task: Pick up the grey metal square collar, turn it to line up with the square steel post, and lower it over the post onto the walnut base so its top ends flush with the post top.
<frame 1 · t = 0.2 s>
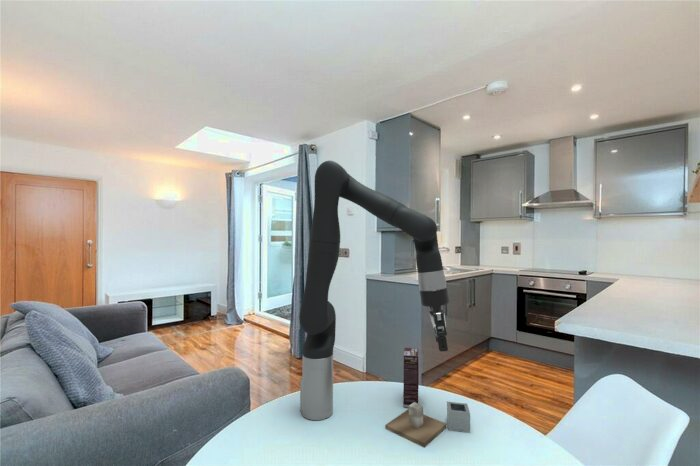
hand: (441, 346, 88), 22 cm above the table, tool pointing down, fingers open, 8 cm apart
post stand: (416, 428, 87), on the table
collar: (458, 425, 88), on the table
supplement box: (411, 402, 102), on the table
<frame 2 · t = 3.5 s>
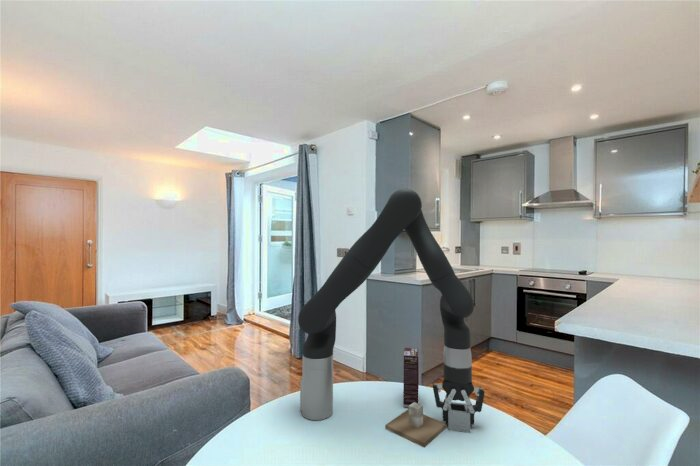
hand: (458, 423, 88), 1 cm above the table, tool pointing down, fingers closed on collar, 5 cm apart
collar: (458, 425, 88), on the table, touching gripper
everything else where it was.
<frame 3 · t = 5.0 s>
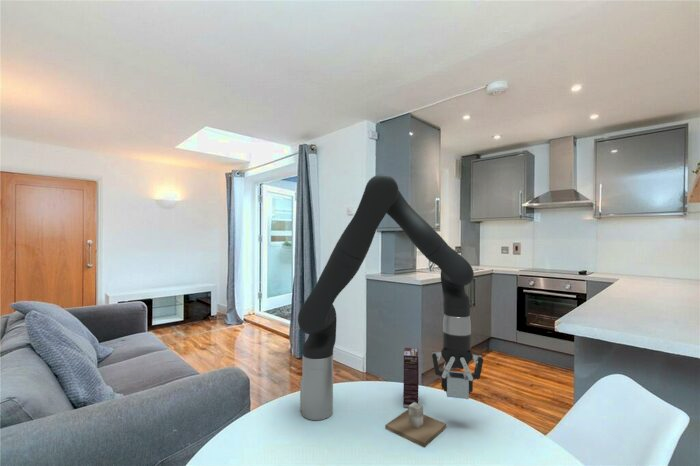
hand: (456, 391, 89), 9 cm above the table, tool pointing down, fingers closed on collar, 5 cm apart
collar: (456, 393, 89), point 9 cm above the table, touching gripper
everything else where it was.
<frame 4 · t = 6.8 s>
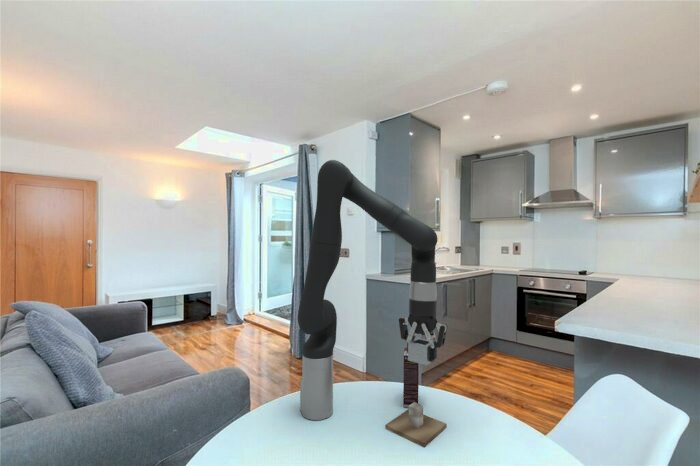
hand: (421, 358, 89), 19 cm above the table, tool pointing down, fingers closed on collar, 5 cm apart
collar: (421, 360, 89), point 18 cm above the table, touching gripper
everything else where it was.
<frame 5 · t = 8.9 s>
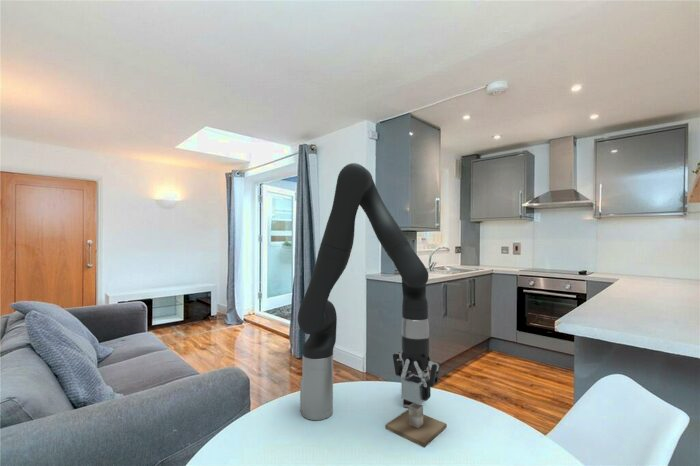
hand: (415, 395, 87), 9 cm above the table, tool pointing down, fingers closed on collar, 5 cm apart
collar: (415, 397, 87), point 8 cm above the table, touching gripper
everything else where it was.
when the fingers open (3 cm above the table, at t = 10.5 s): collar drops 1 cm, resting on post stand.
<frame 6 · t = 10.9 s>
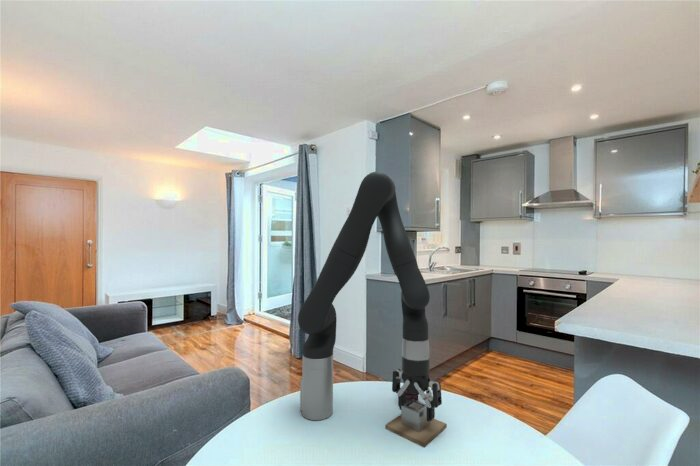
hand: (415, 414, 87), 4 cm above the table, tool pointing down, fingers open, 8 cm apart
collar: (415, 424, 87), point 1 cm above the table, touching post stand
everything else where it was.
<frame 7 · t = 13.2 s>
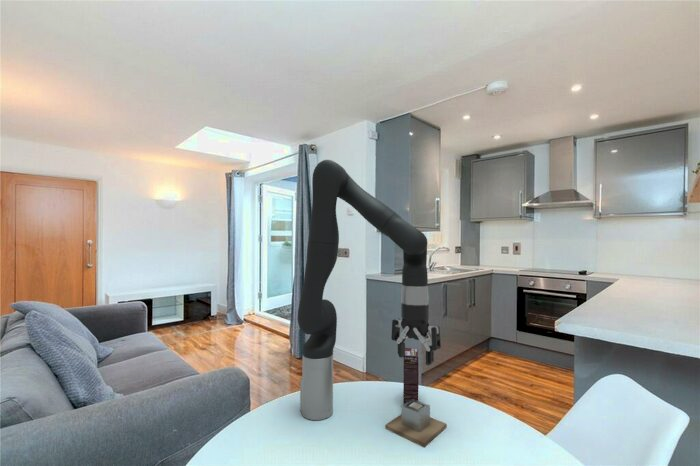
hand: (415, 360, 88), 18 cm above the table, tool pointing down, fingers open, 8 cm apart
nothing on the table moved.
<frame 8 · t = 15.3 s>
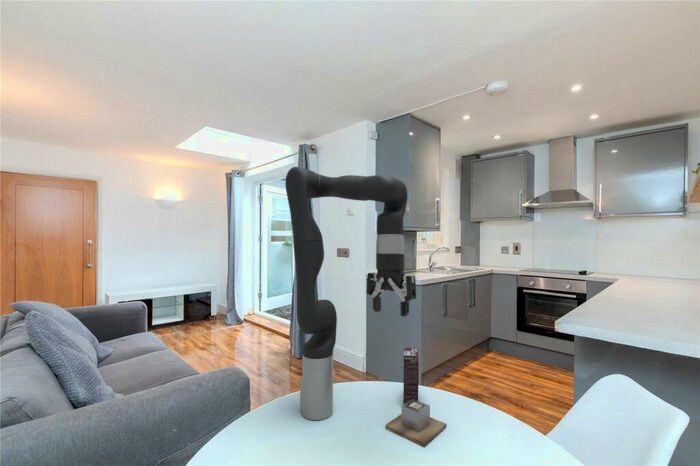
hand: (390, 313, 83), 32 cm above the table, tool pointing down, fingers open, 8 cm apart
nothing on the table moved.
at the end: collar 0.1 cm off-centre on the post stand, point 1.0 cm above the post stand's base; collar tilted 0°; the gripper is holding nothing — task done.
